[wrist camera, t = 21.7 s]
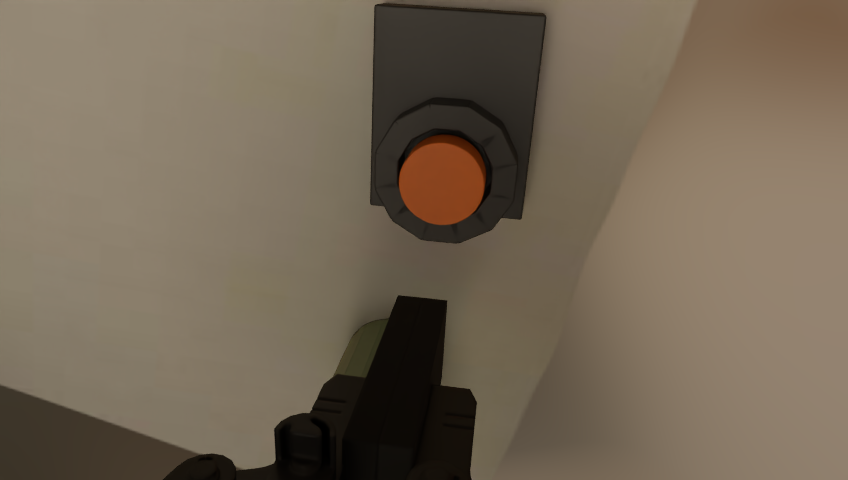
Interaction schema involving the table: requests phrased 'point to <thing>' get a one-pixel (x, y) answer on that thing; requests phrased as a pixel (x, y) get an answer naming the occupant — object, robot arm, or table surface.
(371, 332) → the green cup
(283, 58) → the table surface
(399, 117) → the button housing
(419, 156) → the round orange button cap
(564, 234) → the table surface
